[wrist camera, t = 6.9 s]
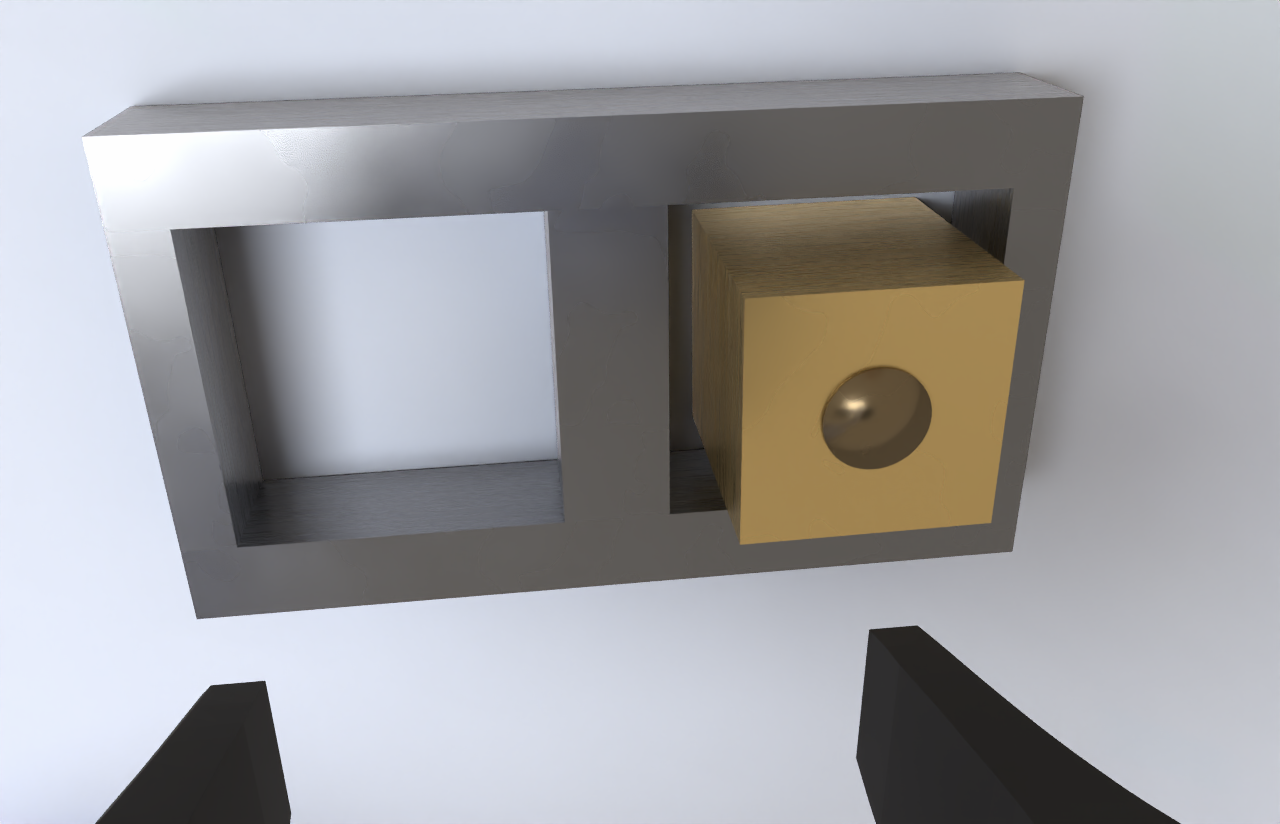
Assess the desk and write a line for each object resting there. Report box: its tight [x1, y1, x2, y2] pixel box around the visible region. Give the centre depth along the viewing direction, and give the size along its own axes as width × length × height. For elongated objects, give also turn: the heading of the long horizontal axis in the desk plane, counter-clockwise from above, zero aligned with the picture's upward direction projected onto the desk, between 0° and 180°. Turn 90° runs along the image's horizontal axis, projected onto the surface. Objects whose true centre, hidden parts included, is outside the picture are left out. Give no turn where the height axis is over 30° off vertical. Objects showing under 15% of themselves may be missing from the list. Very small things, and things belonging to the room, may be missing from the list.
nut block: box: [692, 197, 1025, 545], centre depth 20 cm, size 4×4×5 cm
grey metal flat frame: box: [82, 73, 1084, 619], centre depth 21 cm, size 9×16×2 cm, turn 91°
